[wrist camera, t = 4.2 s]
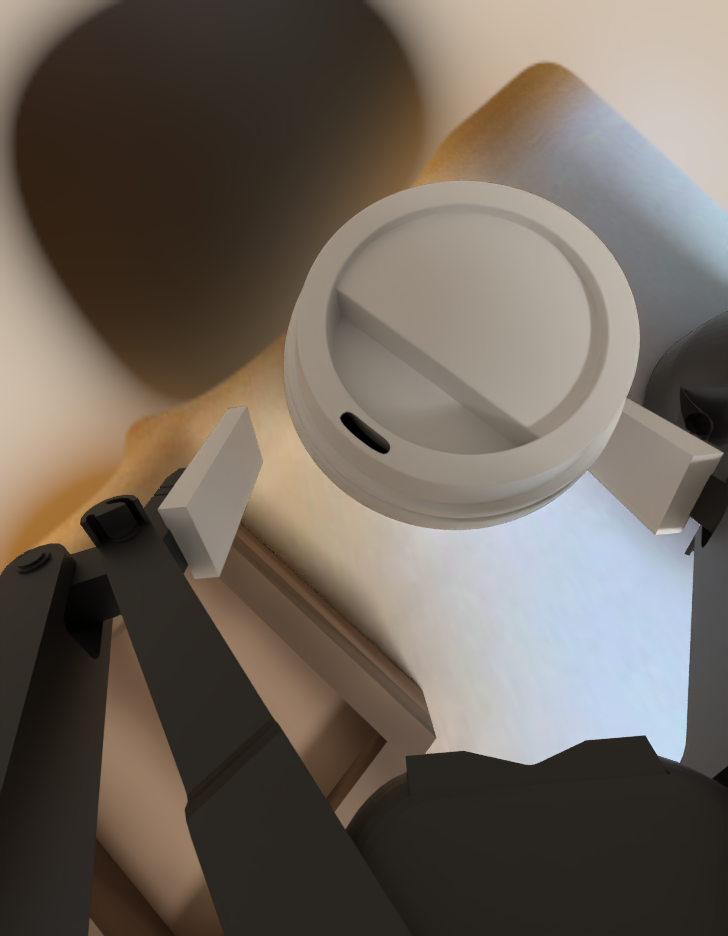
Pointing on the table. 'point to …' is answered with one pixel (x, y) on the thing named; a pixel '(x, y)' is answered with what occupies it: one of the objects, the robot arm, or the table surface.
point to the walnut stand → (290, 703)
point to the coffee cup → (460, 354)
